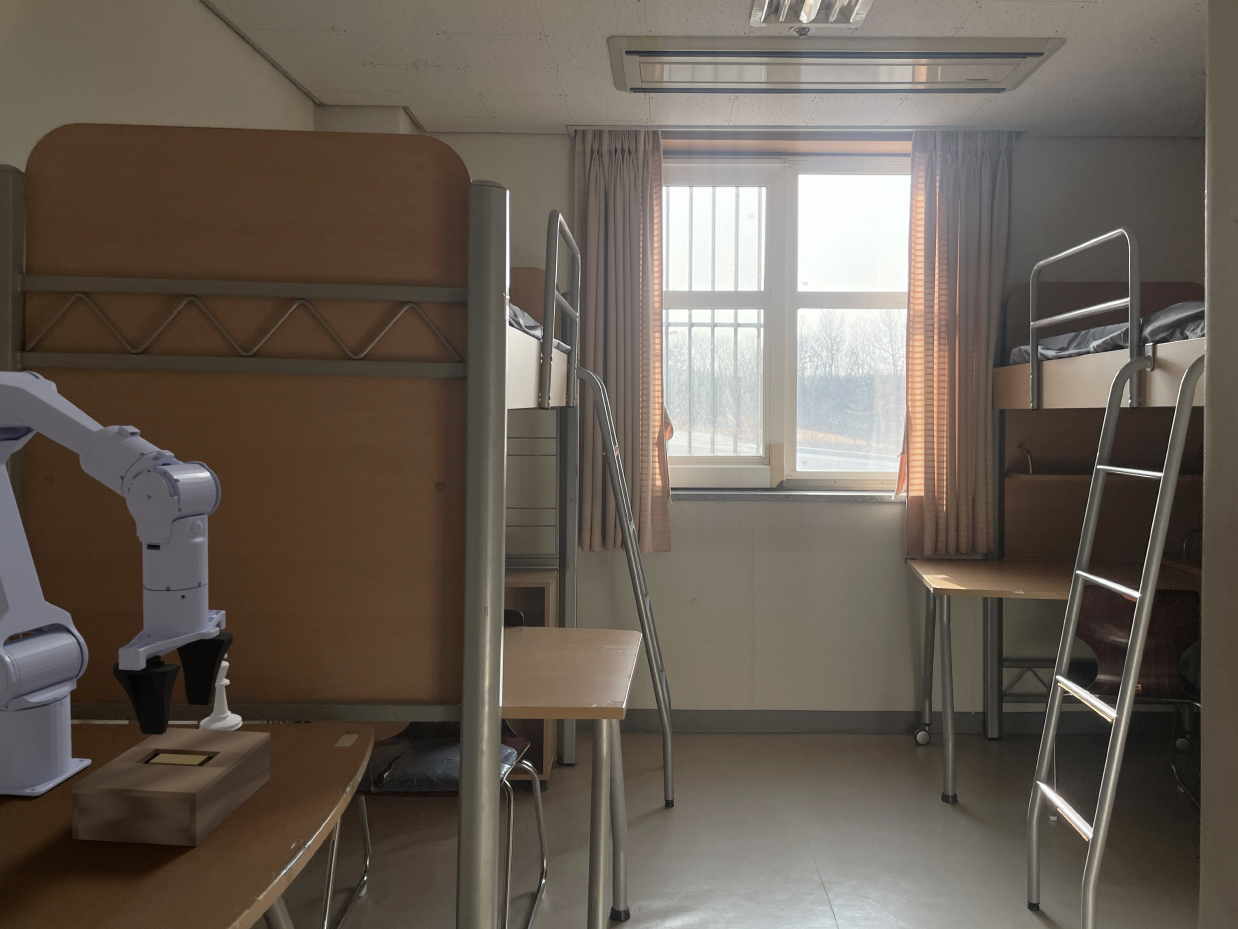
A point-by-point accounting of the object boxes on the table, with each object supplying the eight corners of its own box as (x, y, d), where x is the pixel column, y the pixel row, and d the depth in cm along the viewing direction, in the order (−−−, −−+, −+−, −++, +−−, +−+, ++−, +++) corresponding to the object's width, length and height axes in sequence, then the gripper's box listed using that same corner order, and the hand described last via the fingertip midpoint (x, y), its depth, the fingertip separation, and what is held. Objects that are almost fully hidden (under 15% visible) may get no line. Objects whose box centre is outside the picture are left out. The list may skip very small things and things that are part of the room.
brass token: (149, 810, 82) (148, 762, 82) (161, 801, 84) (160, 753, 84) (197, 813, 82) (197, 764, 81) (208, 803, 84) (208, 756, 83)
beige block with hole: (72, 839, 76) (71, 786, 76) (165, 772, 90) (164, 727, 90) (196, 846, 76) (195, 793, 75) (270, 778, 90) (270, 732, 89)
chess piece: (224, 736, 100) (224, 656, 100) (189, 732, 101) (188, 653, 101) (250, 721, 105) (250, 645, 104) (216, 717, 106) (216, 642, 105)
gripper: (170, 603, 74) (172, 750, 75) (252, 571, 88) (253, 694, 89) (95, 600, 74) (98, 746, 75) (189, 569, 89) (190, 691, 90)
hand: (177, 717), depth 82 cm, fingers open, 7 cm apart
